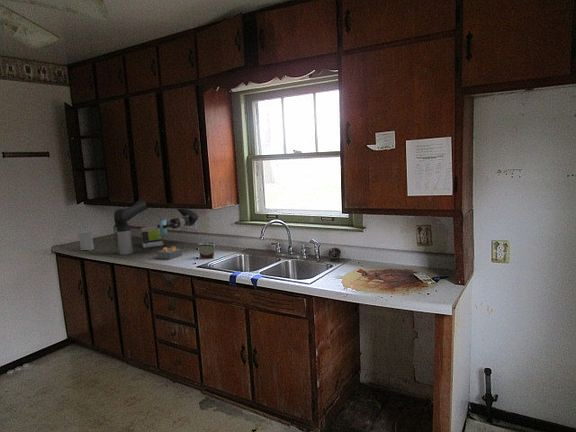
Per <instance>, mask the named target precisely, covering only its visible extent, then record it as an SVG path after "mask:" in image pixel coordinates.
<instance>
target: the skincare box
mask: <svg viewBox="0 0 576 432" xmlns="http://www.w3.org/2000/svg"><path fill="white" fill-rule="evenodd" d="M77 235H78V240H79V246H80V251H81V250H89V251H93V250H95V245H94V240H93V235H92V230H87V231H80V232H78V233H77ZM92 249H93V250H92Z"/></svg>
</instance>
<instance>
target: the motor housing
mask: <svg viewBox="0 0 576 432" xmlns="http://www.w3.org/2000/svg"><path fill="white" fill-rule="evenodd" d="M156 255H157V259H160V260H167V261H168V260H169V261H170V260H173V259H176V258H179V257H181V256H183V252H182V249H181V248H176V246H172V245H171V246H170V247H167V246H165V247H163V248H162V250H159V251H157V252H156Z"/></svg>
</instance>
